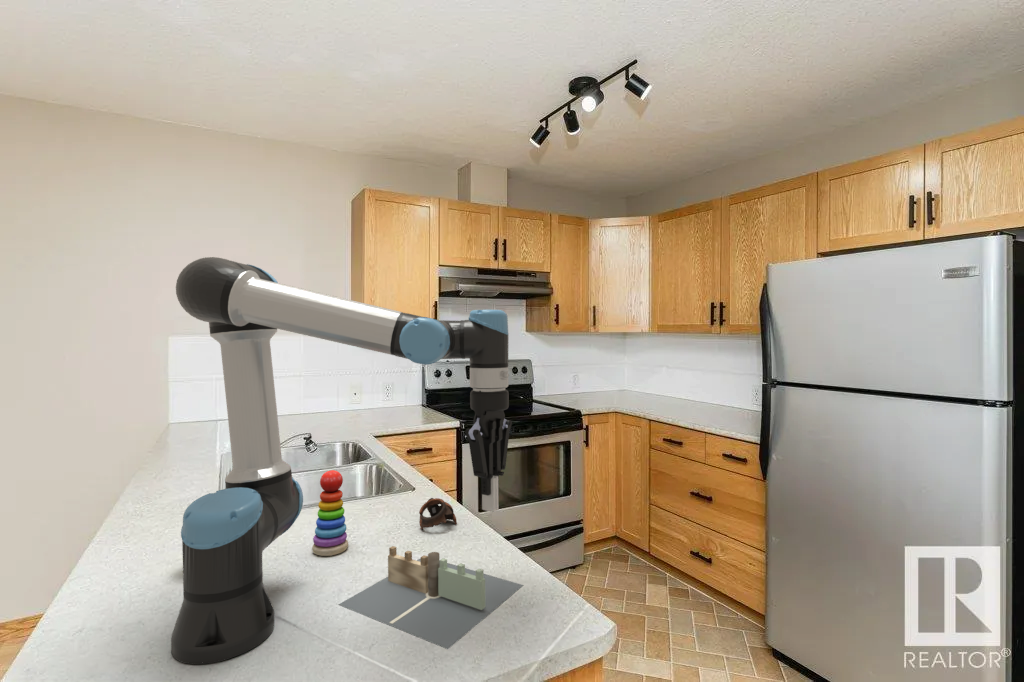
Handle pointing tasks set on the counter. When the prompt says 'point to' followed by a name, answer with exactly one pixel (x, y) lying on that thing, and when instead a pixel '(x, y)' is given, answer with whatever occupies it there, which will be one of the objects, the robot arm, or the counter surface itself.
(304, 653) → the counter surface
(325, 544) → the stacking toy
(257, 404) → the robot arm
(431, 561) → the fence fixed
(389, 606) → the board
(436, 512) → the brown jagged ring
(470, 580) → the folding panel
